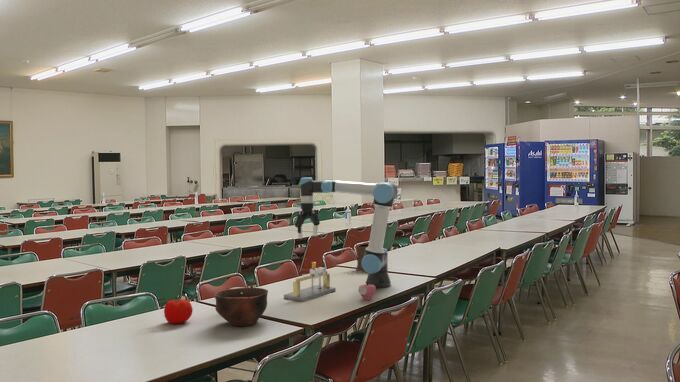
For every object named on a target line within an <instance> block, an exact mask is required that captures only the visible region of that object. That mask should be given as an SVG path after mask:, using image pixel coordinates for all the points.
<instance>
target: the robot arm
mask: <svg viewBox="0 0 680 382" xmlns="http://www.w3.org/2000/svg"><path fill="white" fill-rule="evenodd" d="M299 184H300V186H299V187H300V209H301V210H299V211H298V213H297V216H296V217H297V218H296V220H295V224H294V227H295V228H296V229H297V234H298V235H297V236H298V239H303V227H302V226H303V225H304V223H305V220H306V219H310V222H312V224H313V225H312V235H313V236H314V237H317V236H318V226H319V225H320V224H321V223H320V219H319V217H318V214H317V210H316V209H314V203H313V202H314V194H317V193H318V194H320V193H321V194H329V193H339V194H348V195H359V196H370V197H371V196H372V197H373V201H372V204H373V206H374V211H373V217H372V224H371V230H370V236H369V241H368V244H369V246H368V247H367V248H366V249H365V254H364V257H363V259H362V262H361V265H362V268H363V269H364V270H365V271H366V273H368V275H367V279H366V281H367V282H368V284H369V285H371V284H372V285H374V286H375V287H376V289H377V288H378V289H379V288H388V287H390V286H391V283H392V281H391V278H390V276H389V273H388V269H389V268H388V267H389V266H388V265H389V264H388V261H389V260H388V249H387V248H384V242H385V237H386V232H387V225H388V220H389V219H388V218H389V214H390V210H391V209H392V208H393V207H394V200H395V199H396V198H397V196H398V193H399V191H398V187H397V186H396V184H395V183H393V182H390V181H386V182H385V181H383V182H378V181H377V182H376V183H371V182H370V183H367V182H358V181H346V180H345V181H344V180H336V179H335V180H333V179H325V180H313V177H301V178H300V183H299Z"/></svg>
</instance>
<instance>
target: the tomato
mask: <svg viewBox="0 0 680 382" xmlns="http://www.w3.org/2000/svg"><path fill="white" fill-rule="evenodd" d="M171 299H172V300H168V301H167V302H166V304H165V305H164V308H163V312H164V313H163V314H164V318H165V320H166V321H167V322H168V323H169V324H172V325H174V324H176V323H177V324H182V323H185V322H187V321H189V319H190V318H191V317H192V315H193V312H194V311H193V306H192V304H191V302H190V301H188V300H187V299H182V298H181V297H180V298H173V297H171Z"/></svg>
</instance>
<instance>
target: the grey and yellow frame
mask: <svg viewBox="0 0 680 382" xmlns="http://www.w3.org/2000/svg"><path fill="white" fill-rule="evenodd" d="M316 269H318V284H317V285H313V290H311V286H310V287H306V288H303V289H301V282H303V281H306V280H311V278H313V279H314V274H312V275H310V274H308V275H304V276H301V277H298V278H295V281H293V283H292V284H293V285H292V287H293V289H292V290H293V292H289V293H285V294H283V299H286V300H292V301H298V302H306V301H309V300H311V299H315V298H318V297H322V296H324V295H327V294H331V293H333V292H334V293H335V292H336V291H337V290H336V287H331V284H330V283H331V279H330V278H331V277H330V273H328V271H327V268H326V267H322V266H319V267H316ZM321 278H322V280H323V281H322V280H321ZM322 282H323V284H322Z"/></svg>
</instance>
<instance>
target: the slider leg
mask: <svg viewBox="0 0 680 382" xmlns="http://www.w3.org/2000/svg"><path fill="white" fill-rule="evenodd" d="M312 274H314V278H311V279H310V281H311V282H310V284H311V286H310V287H311V290H313V286H314V280H315V279H319V276H318V269H317V262H316V261H311V268H310V269H309V275H312Z"/></svg>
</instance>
